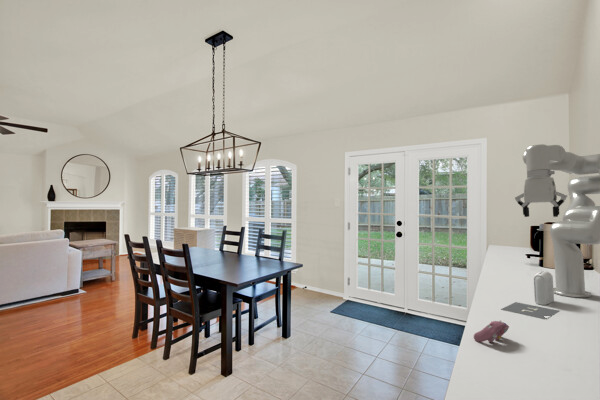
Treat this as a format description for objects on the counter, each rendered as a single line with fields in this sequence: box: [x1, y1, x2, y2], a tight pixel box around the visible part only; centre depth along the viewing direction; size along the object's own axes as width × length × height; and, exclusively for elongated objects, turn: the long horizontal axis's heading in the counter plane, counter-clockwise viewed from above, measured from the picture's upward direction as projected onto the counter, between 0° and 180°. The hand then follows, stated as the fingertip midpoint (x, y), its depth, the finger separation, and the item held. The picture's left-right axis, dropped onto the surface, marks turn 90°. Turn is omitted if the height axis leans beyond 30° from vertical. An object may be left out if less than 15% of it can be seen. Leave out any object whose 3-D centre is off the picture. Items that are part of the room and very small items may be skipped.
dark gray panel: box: [500, 301, 560, 320], centre depth 114 cm, size 14×14×1 cm
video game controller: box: [473, 320, 510, 343], centre depth 89 cm, size 10×5×7 cm, turn 119°
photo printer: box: [533, 270, 555, 306], centre depth 122 cm, size 10×4×12 cm, turn 125°
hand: (540, 216), depth 125 cm, fingers open, 9 cm apart
